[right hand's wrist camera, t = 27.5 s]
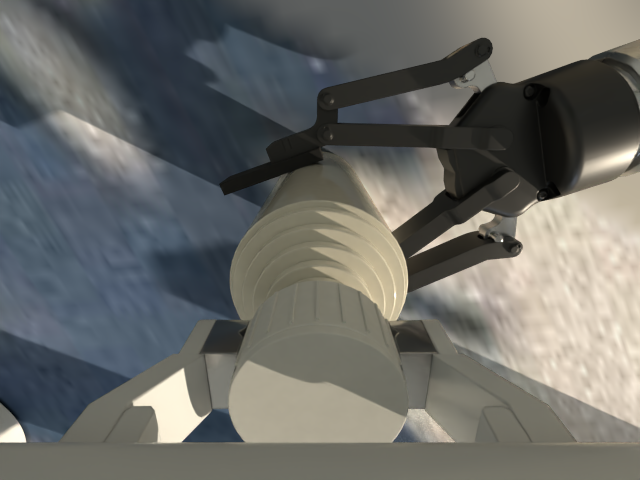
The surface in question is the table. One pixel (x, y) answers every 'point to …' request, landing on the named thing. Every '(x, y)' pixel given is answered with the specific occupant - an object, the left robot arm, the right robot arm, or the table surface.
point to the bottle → (319, 241)
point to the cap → (318, 370)
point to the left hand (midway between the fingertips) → (251, 237)
